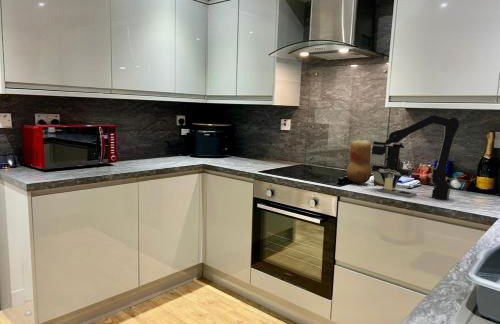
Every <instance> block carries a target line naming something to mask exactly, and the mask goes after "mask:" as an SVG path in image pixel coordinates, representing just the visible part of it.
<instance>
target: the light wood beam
mask: <svg viewBox="0 0 500 324" xmlns="http://www.w3.org/2000/svg"><path fill="white" fill-rule="evenodd" d="M393 181H394V177H393V178H385V185H384V187H383V188H384V190H388V191H395V189H397V188H396V187H397V186H396V187H395V188H393Z"/></svg>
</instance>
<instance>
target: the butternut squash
mask: <svg viewBox="0 0 500 324" xmlns="http://www.w3.org/2000/svg"><path fill="white" fill-rule="evenodd" d="M371 155H372V144H371V142H370V141H369V140H367V139H359V140H358V139H357V140H354V141H352V143H351V144H350V149H349V158H350V159H349V160H350V161H349V164H348V166H347V168H346V172H345V173H346V177H347V179H348V180H349V181H351V182H352V183H354V184H357V185H360V184H365V183H367V182H368V181H369V180H370V178H371V176H372V166H371Z"/></svg>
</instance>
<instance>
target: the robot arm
mask: <svg viewBox="0 0 500 324" xmlns="http://www.w3.org/2000/svg"><path fill="white" fill-rule="evenodd" d="M431 124H436V125H439V126H443V140H442V143H441V149H440V152H439V155H438V156H439V157H438V159H437V164H436V167H432V169H431V174H430V178H431V181H432V183H433V184H434V185H435V186H433V189H432V193H431V198H432V199H436V200H438V201H439V200H441V201H448V200H450V193H451V185H450V183H449V182H448V181H447V164H448V160H449V157H450V152H451V148H452V145H453V140H454V137H455V136H456V134H457V131H458V130H459V127H460V120H458V119H457V118H456V117H449V118H447V117H442V116H440V115H436V114H430V115H429V116H426V118H423V119H420V120H419V121H417V122H415V123H412V124H411V125H409V126H407V127H404V128H399V129H397V130H394V131H391V132H390V133H389V135H388V139H386V140H385V142H383V141H378V140H377V141H376V140H374V141H373V142H372V147H371V155H372V156H373V155H377V156H384V154H387V155H386V157H385V162H386V164H385V165H383V164H374V165H372V166H371V172H373V171H378V170H380V171H379V173H380V175H381V177H382V179H383V182H384V184H385V178H388V174H389V172H395V175H394V176H393V178H394V181H393V188H395V187H397V184H398V182H399V180H400V179H401V178H402V177H410V176H413V170H412V169H410V168H404V165H405V164H404V163H403V162H402V161H401V158H400V152H401V149H405V145H403V143H402V142H401V141H403V140H404V139H405V138H406V137H408V136H409V135H411V134H413V133H414V132H417V131H419V130H421V129H423V128H425V127H429V126H430V125H431ZM399 143H400V144H399ZM391 144H392V145H391ZM387 171H389V172H387ZM395 189H396V188H395Z"/></svg>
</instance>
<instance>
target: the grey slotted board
mask: <svg viewBox="0 0 500 324" xmlns="http://www.w3.org/2000/svg"><path fill="white" fill-rule="evenodd" d="M377 192H379V193H384V194H388V195H389V194H390V195H393V196H398V197H403V198H408V199H410V198H411V199H412V198H414V197H418V193H416V192H412V191H406V190H400V189H397V188H395V191H388V190H384V187H382V188H378V190H377Z"/></svg>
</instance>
